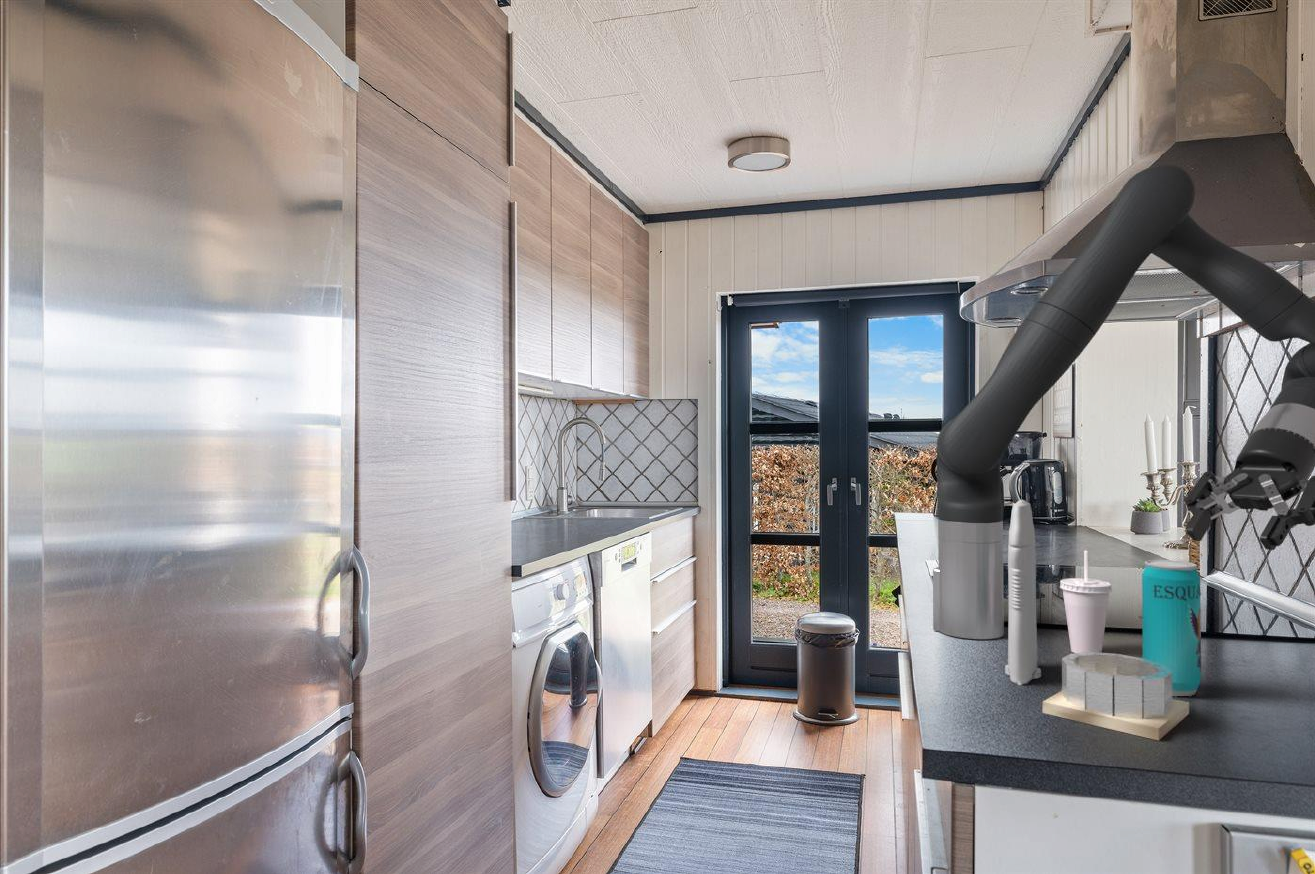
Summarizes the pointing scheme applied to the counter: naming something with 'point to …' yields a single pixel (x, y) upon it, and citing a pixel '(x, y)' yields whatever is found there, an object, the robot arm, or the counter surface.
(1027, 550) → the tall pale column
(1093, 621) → the smoothie
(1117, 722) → the base board
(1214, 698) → the counter surface
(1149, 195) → the robot arm
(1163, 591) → the beverage can
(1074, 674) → the collar
